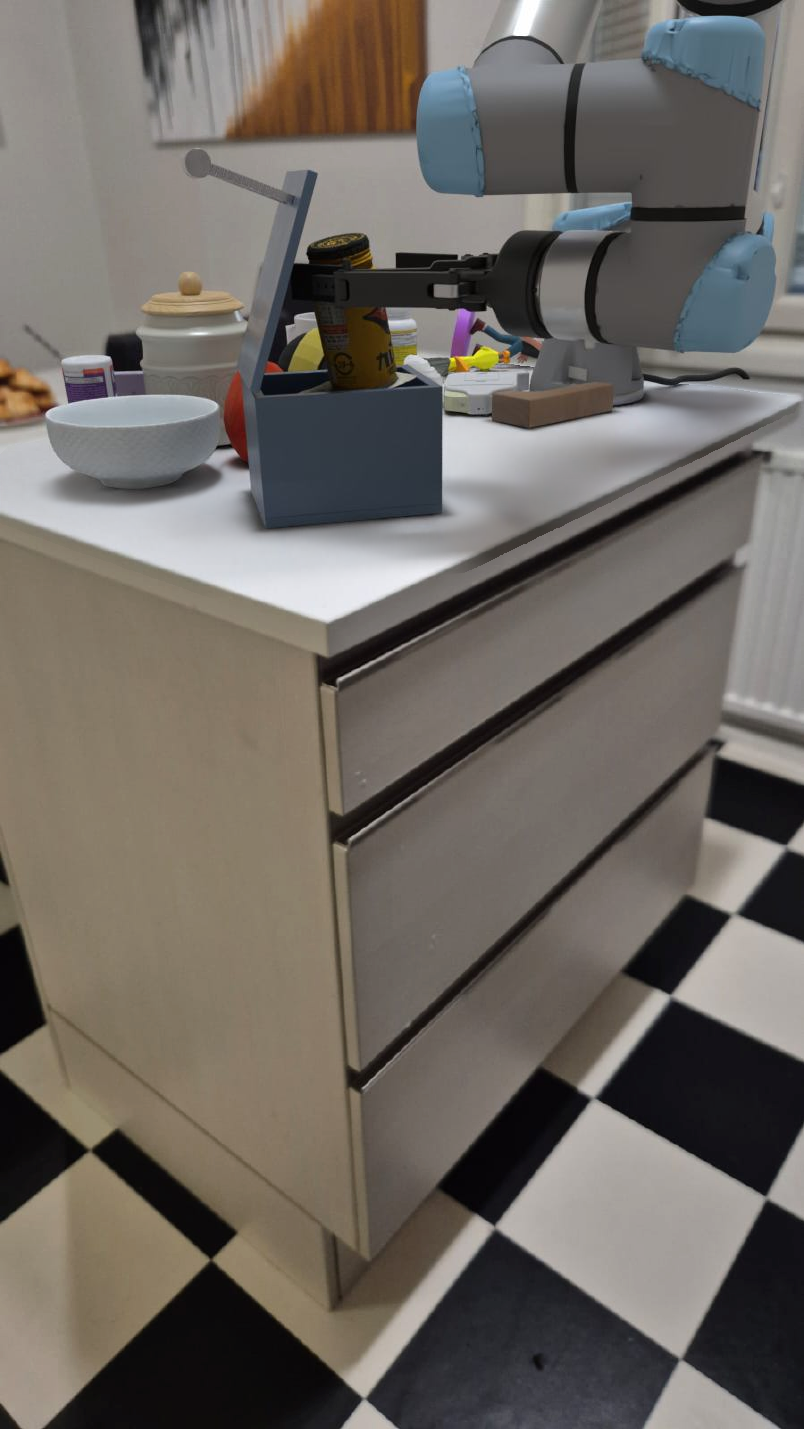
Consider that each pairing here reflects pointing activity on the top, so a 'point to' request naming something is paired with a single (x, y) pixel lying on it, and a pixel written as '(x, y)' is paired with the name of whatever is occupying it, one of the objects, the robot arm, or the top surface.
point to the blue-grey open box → (343, 449)
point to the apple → (239, 413)
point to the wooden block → (551, 404)
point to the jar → (192, 343)
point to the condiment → (353, 326)
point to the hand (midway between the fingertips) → (348, 274)
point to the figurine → (466, 329)
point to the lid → (276, 259)
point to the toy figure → (478, 360)
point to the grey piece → (439, 365)
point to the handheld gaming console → (480, 389)
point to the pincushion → (424, 368)
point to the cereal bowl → (135, 437)
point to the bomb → (303, 353)
